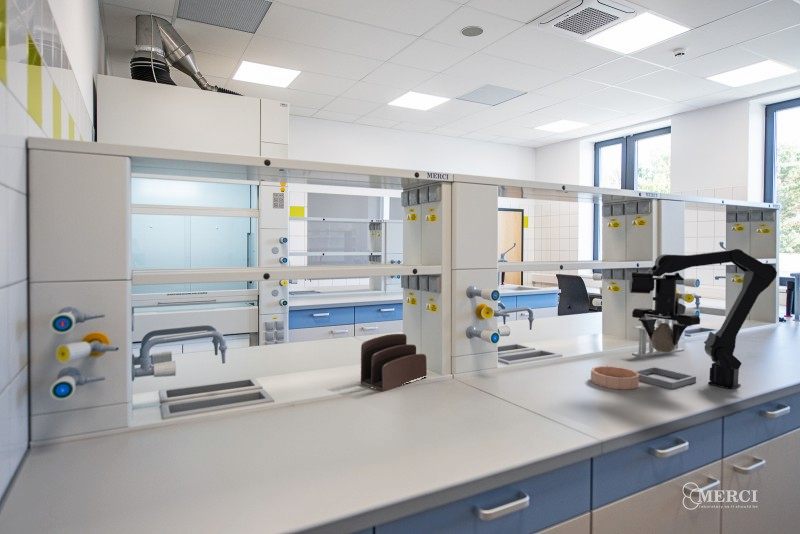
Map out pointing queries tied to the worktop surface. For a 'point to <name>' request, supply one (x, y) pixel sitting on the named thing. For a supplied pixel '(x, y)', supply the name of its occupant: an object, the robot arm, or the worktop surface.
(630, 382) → the bowl
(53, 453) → the worktop surface
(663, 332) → the vase
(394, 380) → the letter holder
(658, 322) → the test tube rack
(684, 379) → the parts tray
